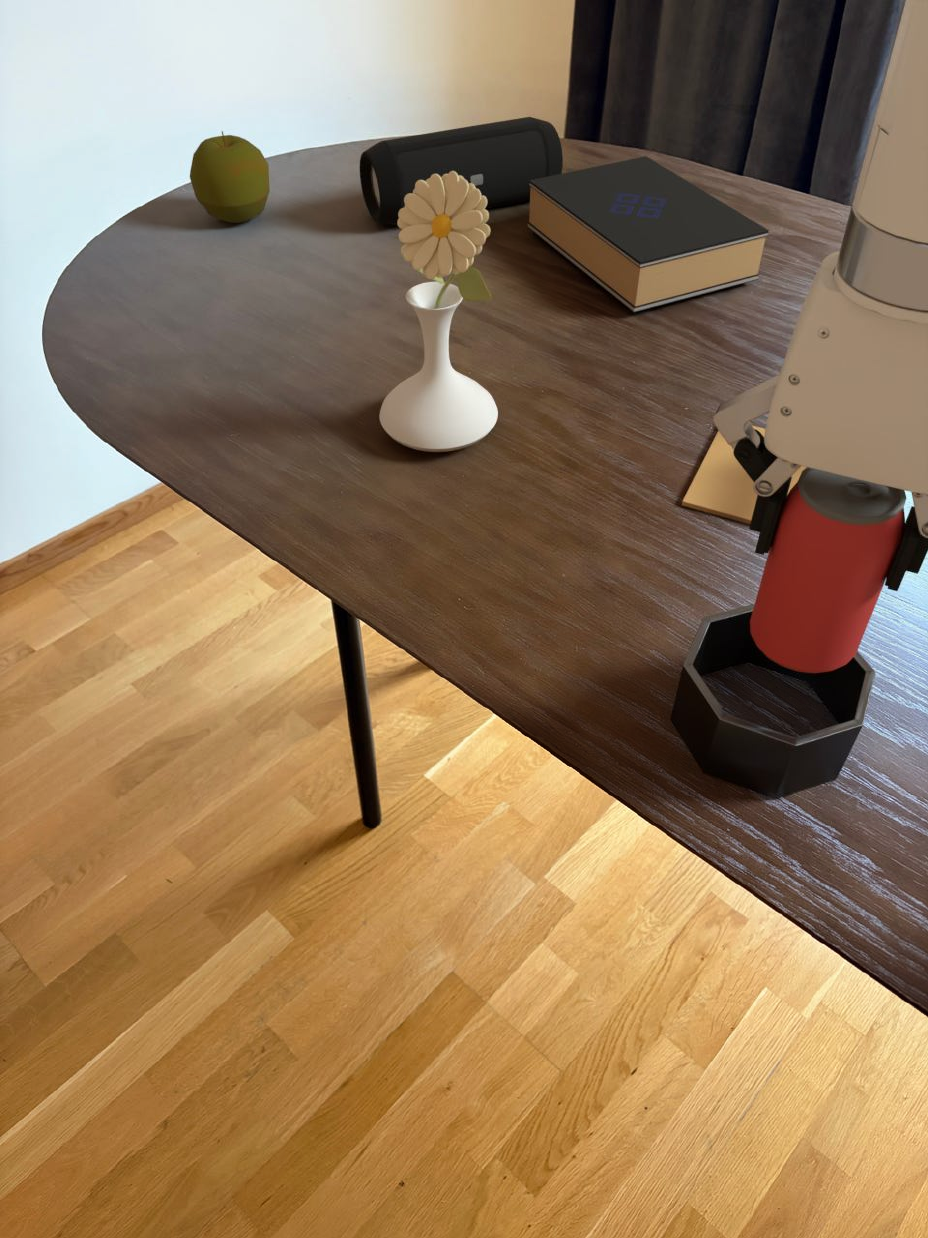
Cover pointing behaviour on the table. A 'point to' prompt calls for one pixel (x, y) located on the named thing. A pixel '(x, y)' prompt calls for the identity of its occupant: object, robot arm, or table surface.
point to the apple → (230, 178)
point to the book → (645, 232)
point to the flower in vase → (441, 317)
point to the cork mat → (725, 484)
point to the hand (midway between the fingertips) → (829, 554)
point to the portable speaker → (461, 163)
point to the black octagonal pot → (753, 749)
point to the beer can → (826, 569)
